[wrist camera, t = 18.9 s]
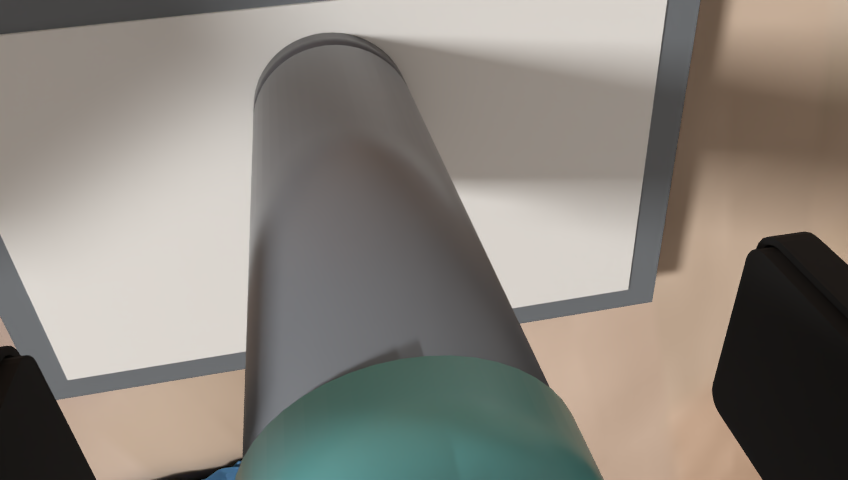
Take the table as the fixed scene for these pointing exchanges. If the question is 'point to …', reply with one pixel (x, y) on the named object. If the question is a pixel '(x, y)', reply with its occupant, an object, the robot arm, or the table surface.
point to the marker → (378, 296)
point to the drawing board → (232, 160)
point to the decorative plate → (225, 473)
